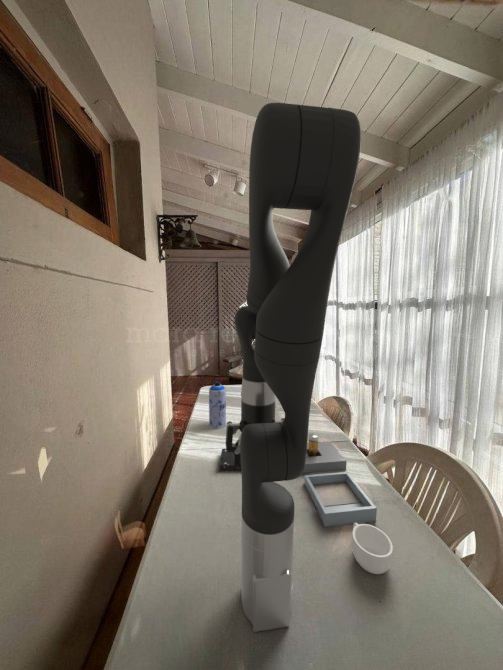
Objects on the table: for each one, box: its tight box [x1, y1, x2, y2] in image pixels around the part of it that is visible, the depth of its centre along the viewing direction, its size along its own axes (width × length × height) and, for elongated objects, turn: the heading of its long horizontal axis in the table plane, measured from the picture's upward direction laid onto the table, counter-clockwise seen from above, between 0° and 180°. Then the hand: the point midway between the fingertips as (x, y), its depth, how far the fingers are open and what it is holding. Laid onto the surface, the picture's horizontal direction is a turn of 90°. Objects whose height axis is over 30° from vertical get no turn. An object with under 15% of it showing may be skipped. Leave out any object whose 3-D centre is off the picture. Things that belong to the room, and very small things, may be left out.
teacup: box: [351, 523, 394, 575], centre depth 56 cm, size 10×8×5 cm
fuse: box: [308, 433, 320, 457], centre depth 89 cm, size 3×3×9 cm
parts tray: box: [303, 471, 378, 528], centre depth 72 cm, size 15×14×4 cm
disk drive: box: [218, 448, 241, 472], centre depth 90 cm, size 10×3×15 cm
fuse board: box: [302, 441, 348, 474], centre depth 89 cm, size 12×18×4 cm, turn 98°
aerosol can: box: [208, 380, 227, 430], centre depth 117 cm, size 8×8×20 cm
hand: (257, 464), depth 60 cm, fingers open, 8 cm apart
